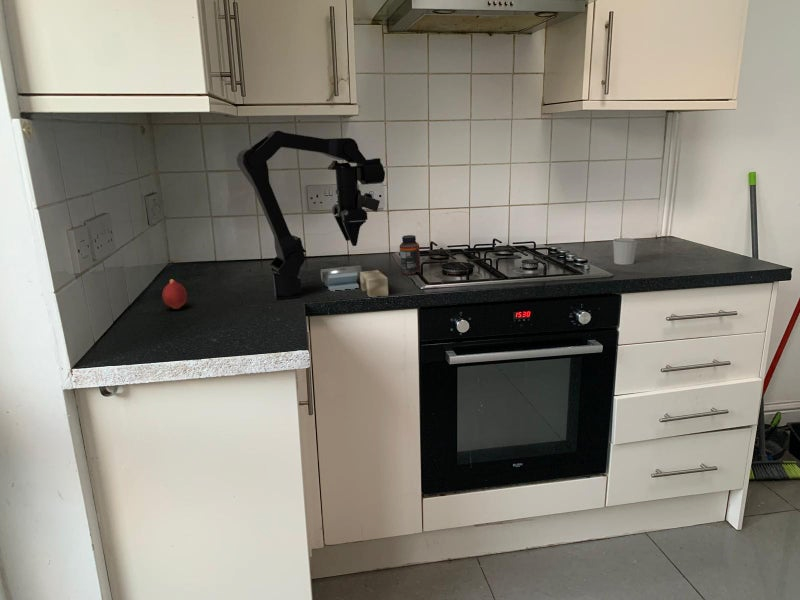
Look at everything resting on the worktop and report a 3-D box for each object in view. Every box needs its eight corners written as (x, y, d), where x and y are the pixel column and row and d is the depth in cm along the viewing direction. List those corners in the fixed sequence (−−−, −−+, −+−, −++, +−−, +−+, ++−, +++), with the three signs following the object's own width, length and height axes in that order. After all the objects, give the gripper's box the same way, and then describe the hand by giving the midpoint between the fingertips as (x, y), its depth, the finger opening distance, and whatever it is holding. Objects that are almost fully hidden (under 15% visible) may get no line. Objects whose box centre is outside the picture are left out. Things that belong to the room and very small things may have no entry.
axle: (323, 282, 162) (322, 270, 161) (321, 280, 165) (320, 268, 164) (362, 278, 165) (361, 266, 164) (359, 276, 168) (358, 264, 167)
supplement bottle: (416, 270, 182) (414, 233, 178) (423, 273, 176) (422, 236, 173) (397, 272, 180) (396, 235, 176) (405, 276, 174) (403, 238, 171)
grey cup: (613, 265, 176) (615, 241, 175) (610, 260, 183) (611, 237, 181) (638, 264, 175) (639, 241, 173) (633, 260, 182) (635, 237, 180)
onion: (175, 305, 153) (171, 275, 151) (193, 307, 151) (189, 276, 149) (159, 312, 148) (154, 281, 146) (177, 313, 146) (173, 282, 144)
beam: (369, 297, 153) (368, 280, 151) (360, 288, 162) (359, 271, 161) (388, 295, 154) (387, 278, 153) (378, 286, 164) (377, 270, 162)
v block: (330, 291, 160) (329, 276, 159) (324, 284, 169) (323, 269, 168) (358, 288, 162) (357, 273, 161) (352, 281, 171) (351, 266, 170)
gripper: (384, 186, 152) (387, 245, 157) (368, 182, 170) (371, 235, 174) (342, 189, 150) (346, 249, 154) (330, 184, 167) (334, 239, 171)
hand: (351, 243), depth 163 cm, fingers open, 9 cm apart
